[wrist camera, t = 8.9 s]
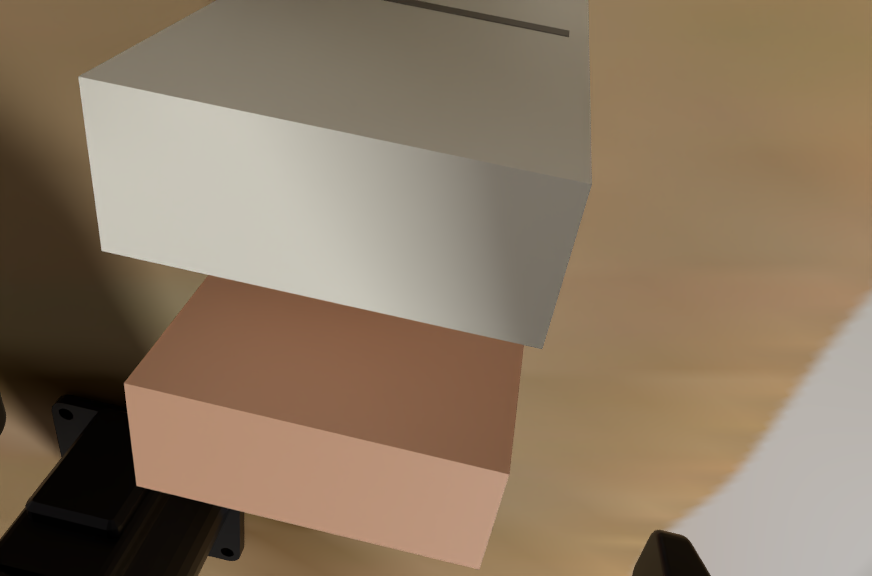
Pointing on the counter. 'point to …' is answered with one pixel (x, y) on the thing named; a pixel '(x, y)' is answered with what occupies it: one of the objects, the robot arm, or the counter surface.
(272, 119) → the ivory domino
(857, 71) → the counter surface
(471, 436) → the terracotta domino
